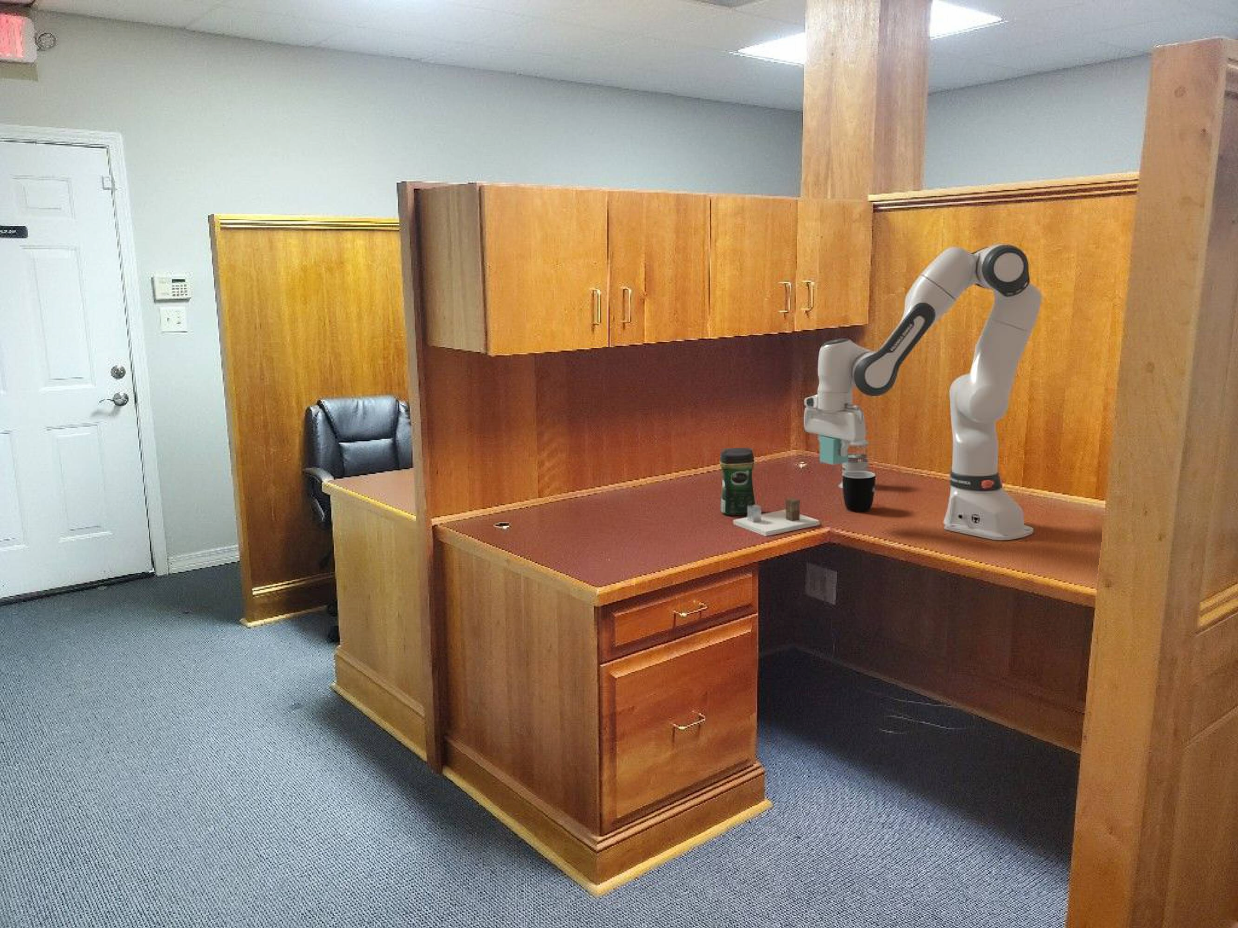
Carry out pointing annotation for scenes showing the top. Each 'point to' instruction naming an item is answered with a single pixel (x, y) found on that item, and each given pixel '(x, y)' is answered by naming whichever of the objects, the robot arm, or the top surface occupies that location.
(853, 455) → the french press
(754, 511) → the post
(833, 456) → the turquoise block
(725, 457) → the coffee jar
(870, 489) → the mug
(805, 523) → the board
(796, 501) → the post
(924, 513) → the top surface
